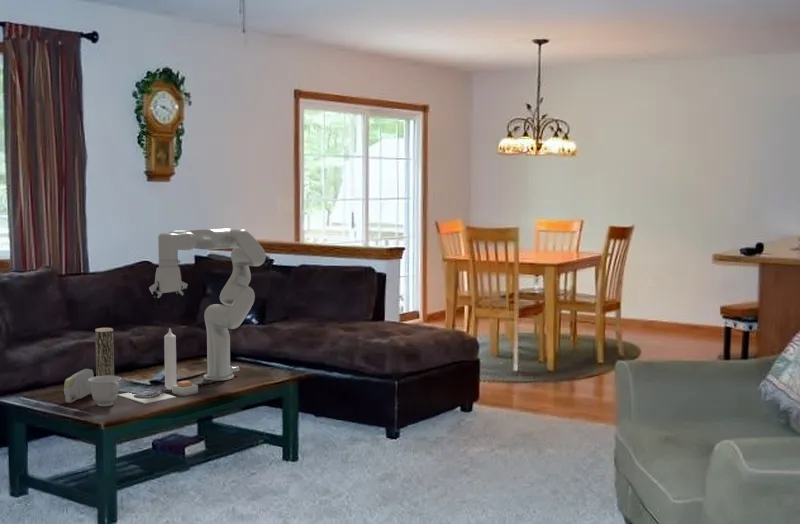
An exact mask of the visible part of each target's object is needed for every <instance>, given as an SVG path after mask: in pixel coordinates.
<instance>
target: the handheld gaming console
mask: <svg viewBox="0 0 800 524" xmlns="http://www.w3.org/2000/svg"><path fill="white" fill-rule="evenodd" d="M92 377H95V376H94V370H93V369H90V368H84V369H82V370H80V371H77V372H76V373H74V374H72V375H71V376H69V377H67V378H66V379H65V380H64V385H63V386H64V387H63V394H64V398H65V403H69V404H71V403H73V402H75V401H77V400H81V399H83V398H84V397H87V396H89V395H92V392H91V385H90V382H89V381H88V379H89V378H92Z"/></svg>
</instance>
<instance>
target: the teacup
mask: <svg viewBox="0 0 800 524" xmlns="http://www.w3.org/2000/svg"><path fill="white" fill-rule="evenodd" d="M121 380H122V377H121V376H119V375H114V376H112V375H105V376H94V377H92V378H89V379H88V381H89V382H90V385H91V392H92V394H91V395H92V399H93V400H94V402H96V403H97V406H98V407H109V406H113V405H114V401H115V400H117V398H118V397H119V396H118V394H119V391H120V390H121V389H120V381H121Z"/></svg>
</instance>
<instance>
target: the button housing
mask: <svg viewBox="0 0 800 524" xmlns="http://www.w3.org/2000/svg"><path fill="white" fill-rule="evenodd" d="M171 393H172V394H174V395H178V396H181V397H184V396H191V395H194V394H195V395H196V394H199V385H197V384H193V383H192V386H189V387H184V388H183V387H180V386H178V384H176V385H173V386H172V391H171Z"/></svg>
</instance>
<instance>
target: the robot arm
mask: <svg viewBox="0 0 800 524" xmlns="http://www.w3.org/2000/svg"><path fill="white" fill-rule="evenodd" d="M157 240H158V241H157V243H158V267H156V271H155V275H154V276H155V277H154V283H153V284H152V285H150V286H149V287H148V288H149V291H150V294H151V295H152V296H153V297H154V305H155V308H157V309H158V308H159V309H161V308H162V295H163V294H165V293H176V295H175V296H176V297H175V302H176V303H175V305H176V306H183V296H184V295H185V293H186V290H187V289H188V285H189V284H188V283H186V282H184V281H182V274H181V273H182V272H181V268H180V266H179V264H181V260H179V258H178V257H179V251H191V250H194V249H196V250H209V251H210V250H223V249H224V250H225V249H232V250H231V253H230V258H231V262H232V273H231V275H230V277H229V278H228V280H227V282H226V283H225V285H224V286H223V288H222V289H221V291H220V294H219V301H220V303H222V304H219V303H216V304H215V303H214V304H210V305H209V306H207V307H206V309H205V310H204V315H203V317H204V323H205V328H206V348H207V350H206V352H207V353H206V355H207V356H206V359H207V361H206V362H207V373H206V374H204V375H203V379H204V380H206V381H214V382H216V381H217V382H219V381H228V380H229V381H230V380H232V379H233V378H234V377H235V374H234V372H238V371H240V367H239V366H232V365H231V336H230V332H229V329H231V330H235V329H238V328H239V327H240V326H241V325H242V323H243V322H244V321H245V319H246V318H247V315H248V314H249V312H250V311H251V309H252V306H253V305H254V302H255V299H256V295H255V291H254V289H253V288H252V287H251V286H249V284H250V282H251V280H252V274H251V269H250V267H260V266H262V265H263V264H264V263H265V261H266V258H267V257H266V256H267V255H266V251H265V249H264V248H263V246H262V245H261V244H260V243H259V242H258V241H257V239H256V238H255V237H254V236H253V235H252V234H251V233H250V232H249V231H248V230H246V229H242V228H230V227H227V228H207V229H205V228H204V229H193V230H192V229H190V230H189V229H186V230H171V231H169V232H161V233H159V235H158V237H157Z"/></svg>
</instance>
